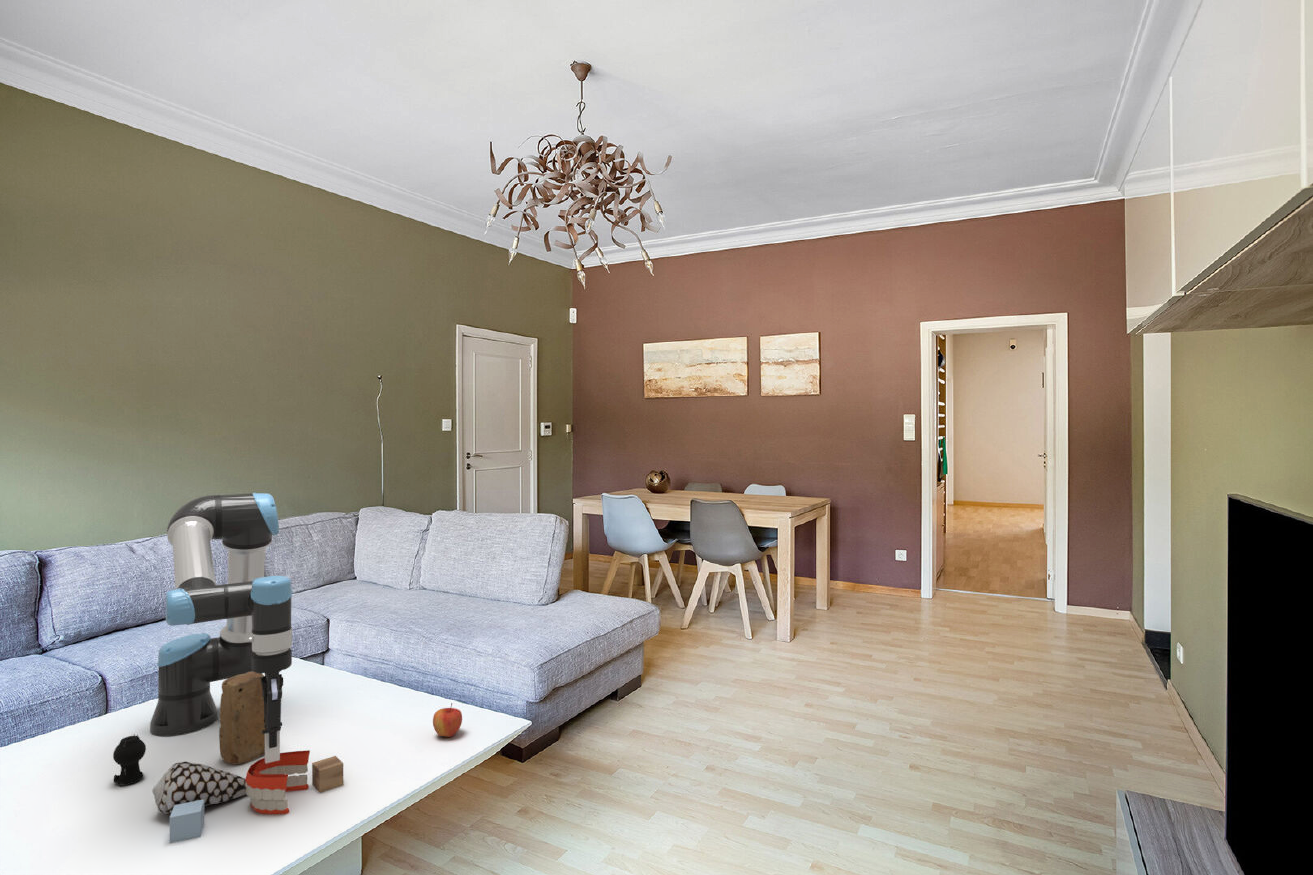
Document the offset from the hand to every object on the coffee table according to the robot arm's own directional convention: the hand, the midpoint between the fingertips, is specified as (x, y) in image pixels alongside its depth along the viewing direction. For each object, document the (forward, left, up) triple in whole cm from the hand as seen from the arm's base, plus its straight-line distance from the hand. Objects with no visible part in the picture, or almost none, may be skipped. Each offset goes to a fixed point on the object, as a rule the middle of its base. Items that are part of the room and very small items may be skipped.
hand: (272, 760), depth 147 cm
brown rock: (-27, -3, -9) cm, 29 cm away
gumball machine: (-28, -26, -9) cm, 39 cm away
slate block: (+4, -15, -9) cm, 18 cm away
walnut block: (-1, +11, -9) cm, 14 cm away
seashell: (-8, -13, -9) cm, 17 cm away
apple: (-11, +41, -9) cm, 43 cm away
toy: (0, 0, -9) cm, 9 cm away
